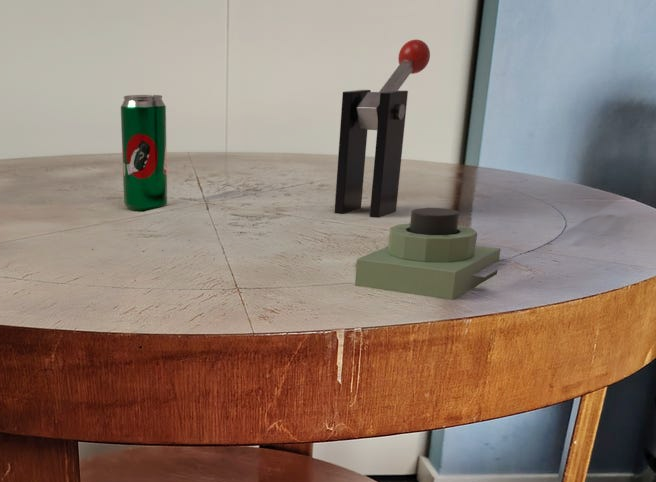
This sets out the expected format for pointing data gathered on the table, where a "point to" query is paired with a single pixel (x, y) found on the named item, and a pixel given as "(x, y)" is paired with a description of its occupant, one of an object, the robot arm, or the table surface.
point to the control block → (427, 263)
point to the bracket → (385, 154)
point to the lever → (393, 81)
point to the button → (434, 221)
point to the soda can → (144, 152)
